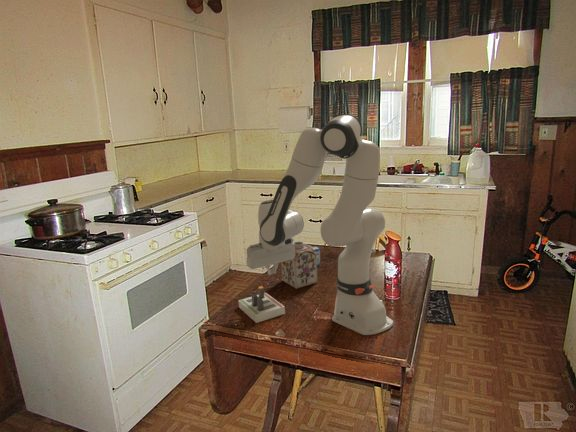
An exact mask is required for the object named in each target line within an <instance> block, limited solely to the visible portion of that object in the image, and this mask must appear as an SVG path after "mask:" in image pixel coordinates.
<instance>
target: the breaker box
mask: <svg viewBox="0 0 576 432" xmlns="http://www.w3.org/2000/svg"><path fill="white" fill-rule="evenodd" d="M238 308H239V309H240V310H241V311H242V312H244V314H246V315H247V316H248V317H249V318H250V319H251V320H252V321H254V322H255V324H258V323H261V322H264V321H266V320H267V321H268V320H271V319H274V318H276V317H280V316H282V315H285V314H286V309H285V305H283V304H282V303H280V302H279V301H278V300H277V299H275V298H274V297H272V296H271V295H270V294H268V293H267V292H264V297H262V298H260V297H259V294H252V295H251V296H249V297H245V298H241V299H238Z"/></svg>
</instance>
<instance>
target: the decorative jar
mask: <svg viewBox="0 0 576 432" xmlns="http://www.w3.org/2000/svg"><path fill="white" fill-rule="evenodd" d="M293 244H294V247H295V257H294V259H292V260H288V261H284V262H280V263H281V277H282V278H281V279H282V281H283V282H284V283H285V284H288V285H289V286H291V287H292V288H294V289H299V288H303V287H307V286H310V285H313V284H316V283H318V266H317V257H316V253H315V251H314V249H313V248H312V247H313V246H312V245H309V244H306V243H304V242H303V241H293Z"/></svg>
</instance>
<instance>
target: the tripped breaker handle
mask: <svg viewBox="0 0 576 432" xmlns="http://www.w3.org/2000/svg"><path fill="white" fill-rule="evenodd" d="M257 290H258V291H257V292H258V295H259V297H260V298H262V297H264V293H265V288H264V287H263V286H262V285H261V286H260V285H259V286H258V287H257Z"/></svg>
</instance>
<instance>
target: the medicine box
mask: <svg viewBox="0 0 576 432" xmlns="http://www.w3.org/2000/svg"><path fill="white" fill-rule="evenodd" d="M312 248H313V249H314V251H315V253H316V257H317V267H318V266H321V249H320V247H318V246H312Z"/></svg>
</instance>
